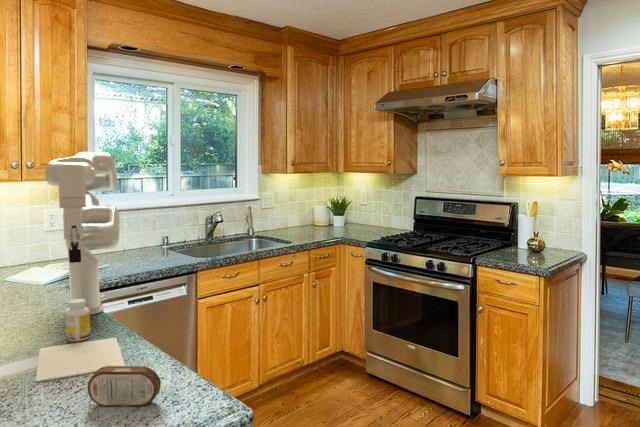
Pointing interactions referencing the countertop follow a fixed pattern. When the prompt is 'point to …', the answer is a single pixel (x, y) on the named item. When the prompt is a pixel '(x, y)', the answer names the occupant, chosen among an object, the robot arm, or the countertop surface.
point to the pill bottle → (77, 320)
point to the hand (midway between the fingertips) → (75, 260)
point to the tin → (124, 386)
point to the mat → (77, 359)
